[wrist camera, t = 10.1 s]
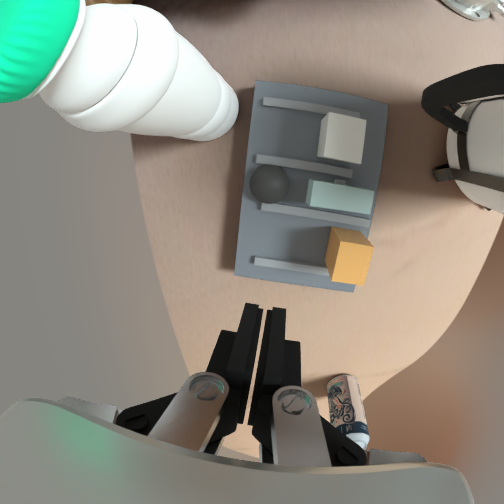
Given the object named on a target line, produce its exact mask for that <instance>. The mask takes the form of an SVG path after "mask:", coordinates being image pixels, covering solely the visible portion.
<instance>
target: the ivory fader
mask: <svg viewBox="0 0 504 504" xmlns="http://www.w3.org/2000/svg"><path fill="white" fill-rule="evenodd" d="M365 129H366V120H364V119H360V118H356V117H351V116H347V115H342V114H337V113H332V112H329V113H328V114H327V115H326V116H325V117H324V118H323V119H322V120H321V127H320V136H319V143H318V151H317V157H322V158H327V159H333V160H338V161H343V162H348V163H356V164H361V160H362V153H363V146H364V138H365Z"/></svg>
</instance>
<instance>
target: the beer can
mask: <svg viewBox="0 0 504 504" xmlns="http://www.w3.org/2000/svg"><path fill="white" fill-rule="evenodd" d="M326 388H327V393H328V402H329V413H330V424H332V425H333V426H334V427H336V428H337V429H338V430H339V431H341V432H342V433H343V434H345V435H346V436H347V437H349V438H350V439H351V440H353V441H354V442H355V443H357V444H358V445H359V446H360V447H361V448H363V450H364V449H366V446H367V444H368V442H369V433H368V428H367V423H366V418H365V413H364V408H363V403H362V399H361V394H360V390H359V385H358V381H357V379H356V378H355V377H353V376H351V375H341V376H338V377H335V378H333V379H332V380H330V381H329V383H328V384H327V387H326Z"/></svg>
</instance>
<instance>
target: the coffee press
mask: <svg viewBox="0 0 504 504" xmlns="http://www.w3.org/2000/svg"><path fill="white" fill-rule="evenodd" d="M494 95H497V96H494ZM488 96H491V97H488ZM483 97H486V98H483ZM478 98H480V99H478ZM473 99H474V100H473ZM458 103H460V104H466V105H464V106H462V107H461V106H460V105H459V104H458ZM468 103H469V104H468ZM421 105H422V108H423V109H424V110H425V112H427V113H428V114H429V115H430V116H432V117H433V118H434V119H436V120H437V121H439V122H441V123H442V124H444V125H445V126H447V127H449V129H448V134H447V157H448V162H449V163H447V164H444V165H441V166H437V167H435V168H433V169H432V171H433V174H434V176H435V179H436V181H437V182H440V181H446V180H455V181H456V183H457V185H458V187H459V188H460V189H461V191H462V192H463V193H464V194H465V195H466V196H467V197H468V198H469V199H470V200H472V201H473V202H475V203H477V204H480V205H482V206H485V208H486V209H487V210H488V211H490V210H495V211H497V212H500V213H502V214H504V64H492V65H485V66H480V67H477V68H473V69H470V70H467V71H464V72H462V73H459V74H456V75H453V76H451V77H448V78H446V79H443V80H441V81H439V82H436V83H434V84H432V85H430V86H428V87H427V88H426V89H425V90H424V91H423V95H422V101H421ZM446 105H450V107H452V108H453V109H454V110H455V111H456V113H455V114H453V113H452V112H450V111H449V110H447V109H446V108H445V107H444V106H446Z"/></svg>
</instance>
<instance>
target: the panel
mask: <svg viewBox="0 0 504 504" xmlns="http://www.w3.org/2000/svg"><path fill="white" fill-rule="evenodd" d="M329 112H332V113H337V114H342V115H347V116H351V117H356V118H360V119H364V120H366V129H365V138H364V146H363V153H362V160H361V164H356V163H348V162H343V161H338V160H333V159H327V158H322V157H317V151H318V143H319V136H320V127H321V120H322V119H323V118H324V117H325V116H326V115H327V114H328V113H329ZM387 116H388V104H385V103H381V102H377V101H374V100H370V99H366V98H362V97H358V96H354V95H350V94H345V93H341V92H336V91H331V90H326V89H320V88H314V87H308V86H302V85H295V84H287V83H278V82H269V81H257V80H256V83H255V91H254V99H253V107H252V115H251V124H250V132H249V140H248V149H247V158H246V167H245V175H244V185H243V194H242V203H241V212H240V222H239V232H238V241H237V251H236V262H235V272H234V275H235V276H242V277H248V278H255V279H261V280H268V281H274V282H281V283H288V284H295V285H302V286H309V287H316V288H323V289H331V290H338V291H346V292H354V288H355V284H348V283H341V282H333V281H331V279H330V276H329V272H328V269H327V266H326V263H325V256H326V251H327V246H328V241H329V236H330V231H331V226H334V227H339V228H345V229H351V230H357V231H360V232H361V233H362V234H363V235H364V236H365V237H366V238H367V239H368V234H369V230H370V225H371V221H372V216H373V211H374V206H375V201H376V195H377V190H378V184H379V178H380V172H381V166H382V159H383V152H384V144H385V135H386V126H387ZM309 179H314V180H321V181H327V182H333V183H339V184H344V185H350V186H355V187H361V188H366V189H369V190H372V191H375V192H374V197H373V203H372V208H371V213H370V214H363V213H357V212H350V211H343V210H336V209H329V208H321V207H313V206H309V205H308V204H306V203H305V202H306V196H307V189H308V182H309Z"/></svg>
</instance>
